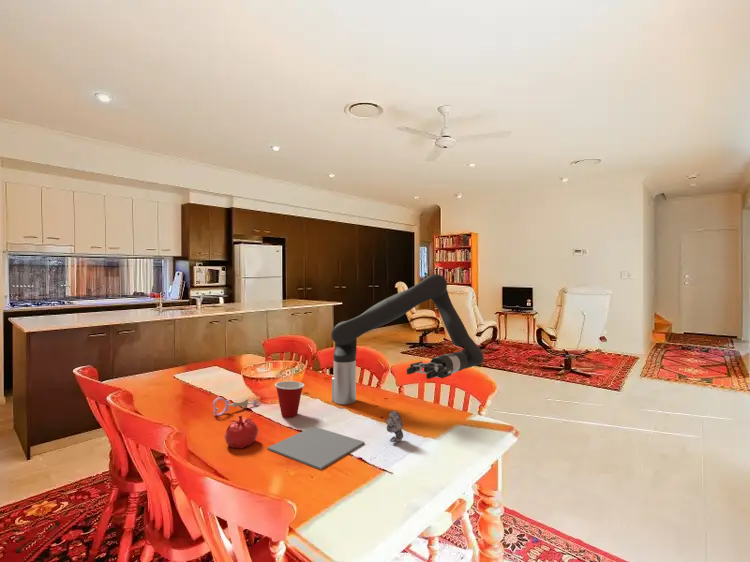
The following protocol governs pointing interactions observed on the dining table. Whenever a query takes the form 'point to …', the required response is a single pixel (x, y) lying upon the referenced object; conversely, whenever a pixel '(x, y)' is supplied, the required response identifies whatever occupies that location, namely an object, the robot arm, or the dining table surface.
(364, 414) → the dining table surface
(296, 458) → the mat
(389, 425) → the grey tall lumpy piece
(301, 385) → the plastic cup
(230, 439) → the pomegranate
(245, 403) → the decorative key
